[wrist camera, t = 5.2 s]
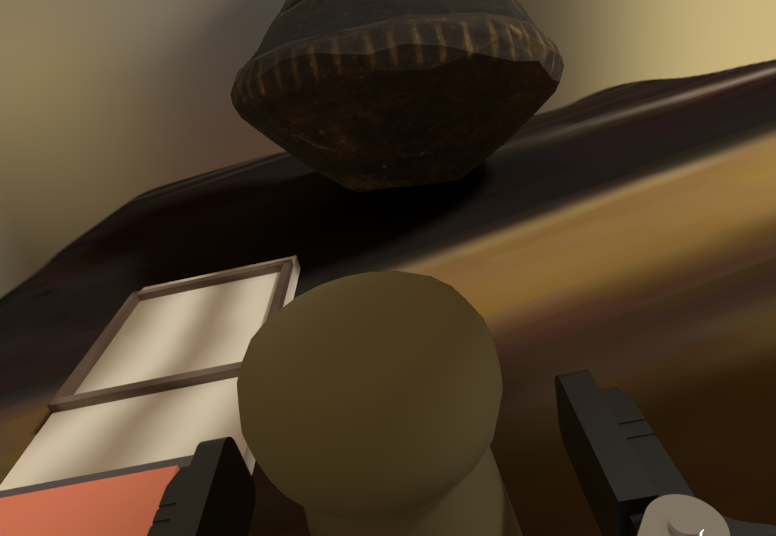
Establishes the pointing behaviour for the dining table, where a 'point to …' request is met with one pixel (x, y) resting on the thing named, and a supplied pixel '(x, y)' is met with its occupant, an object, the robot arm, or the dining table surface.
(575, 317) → the dining table surface
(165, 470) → the ink pad
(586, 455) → the robot arm
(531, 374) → the dining table surface
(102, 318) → the dining table surface
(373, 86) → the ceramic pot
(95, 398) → the stamping board
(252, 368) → the cork
